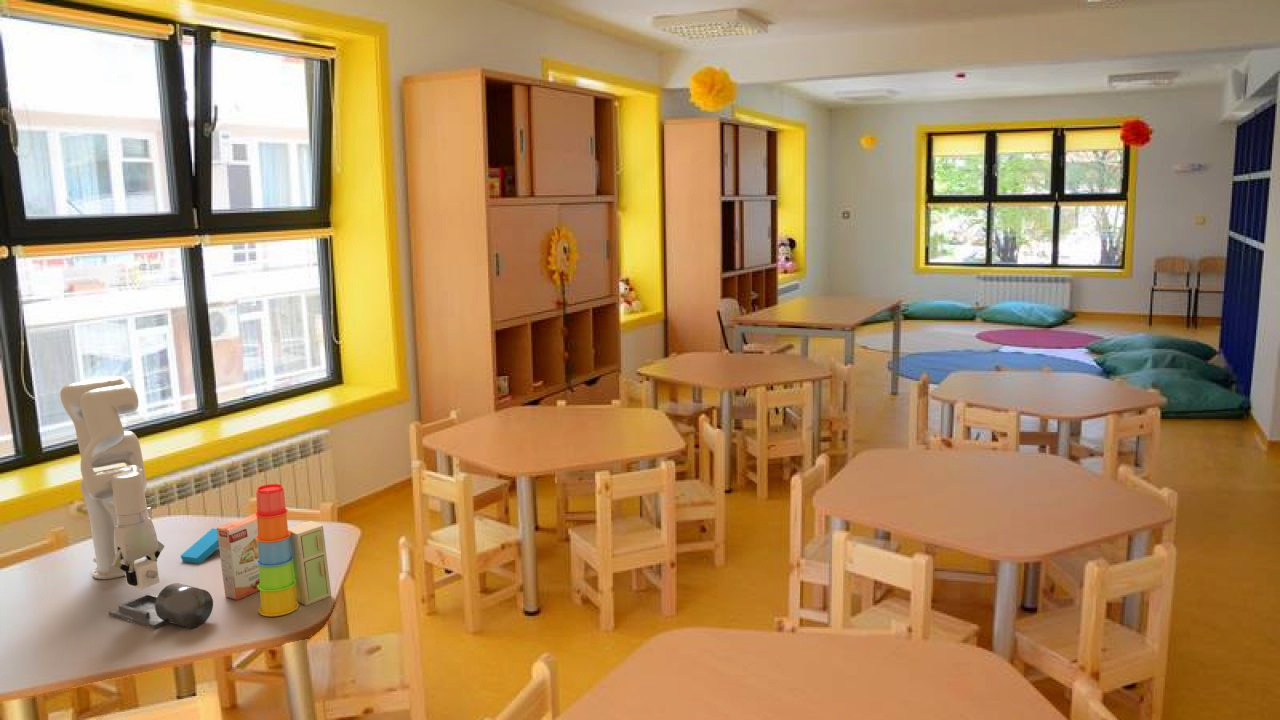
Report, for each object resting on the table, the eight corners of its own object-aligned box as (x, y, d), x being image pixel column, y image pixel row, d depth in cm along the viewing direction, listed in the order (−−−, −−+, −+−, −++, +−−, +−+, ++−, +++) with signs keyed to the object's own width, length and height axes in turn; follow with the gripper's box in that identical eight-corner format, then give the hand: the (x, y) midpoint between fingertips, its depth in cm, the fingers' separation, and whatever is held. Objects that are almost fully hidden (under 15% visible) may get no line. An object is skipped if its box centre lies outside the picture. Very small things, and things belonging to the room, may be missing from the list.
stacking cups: (268, 601, 269) (252, 482, 262) (304, 600, 268) (289, 481, 262) (252, 618, 259) (236, 495, 252) (290, 617, 258) (274, 493, 251)
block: (126, 585, 264) (123, 564, 263) (143, 578, 268) (140, 557, 267) (147, 590, 260) (144, 569, 259) (164, 583, 264) (161, 562, 263)
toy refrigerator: (307, 607, 264) (298, 534, 260) (293, 600, 269) (284, 528, 265) (333, 596, 270) (324, 525, 266) (319, 590, 275) (311, 520, 271)
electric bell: (109, 615, 265) (103, 580, 263) (149, 597, 275) (144, 564, 273) (178, 636, 250) (173, 600, 249) (218, 616, 261) (213, 582, 259)
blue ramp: (204, 576, 301) (243, 540, 316) (196, 558, 298) (236, 523, 313) (188, 573, 304) (227, 538, 318) (180, 555, 301) (220, 521, 315)
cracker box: (238, 601, 270) (228, 530, 266) (224, 597, 273) (214, 527, 269) (280, 582, 281) (271, 514, 277) (266, 578, 285) (257, 511, 281)
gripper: (152, 506, 270) (162, 567, 273) (93, 526, 256) (104, 590, 259) (169, 509, 266) (179, 571, 270) (110, 529, 252) (121, 595, 255)
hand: (142, 580), depth 264 cm, fingers closed on block, 5 cm apart
